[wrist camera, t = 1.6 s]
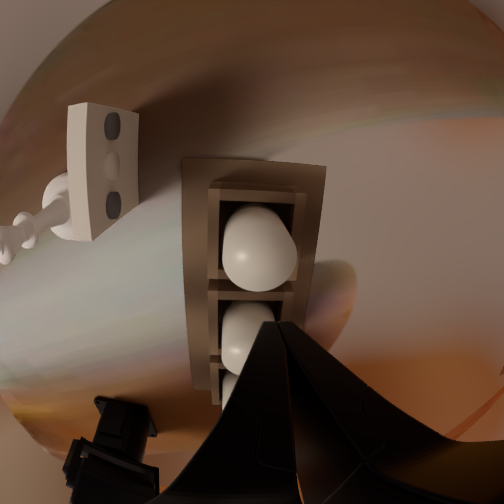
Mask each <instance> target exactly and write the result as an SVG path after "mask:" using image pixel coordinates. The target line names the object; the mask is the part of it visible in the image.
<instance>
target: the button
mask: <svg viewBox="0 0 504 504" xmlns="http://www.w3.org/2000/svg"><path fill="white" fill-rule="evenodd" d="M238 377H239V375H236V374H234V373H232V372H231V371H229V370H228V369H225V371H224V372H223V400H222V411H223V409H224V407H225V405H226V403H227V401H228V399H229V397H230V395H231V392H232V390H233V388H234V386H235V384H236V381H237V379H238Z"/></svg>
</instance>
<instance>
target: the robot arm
mask: <svg viewBox="0 0 504 504" xmlns="http://www.w3.org/2000/svg"><path fill="white" fill-rule="evenodd" d="M367 386H368V385H367V384H366V383H365V382H364V381H362V380H361V379H360V378H359V377H357V376H356V375H355V374H354V373H353V372H351V371H350V370H349V369H348V368H346V367H345V366H344V365H343V364H342V363H341V362H339V361H338V360H337V359H336V358H335V357H333V356H332V355H331V354H330V353H329V352H327V351H326V350H325V349H324V348H323V347H322V346H320V345H319V344H318V343H317V342H316V341H314V340H313V339H312V338H311V337H310V336H309V335H307V334H306V333H305V332H304V331H303V330H301V329H300V328H299V327H298V326H297V325H296V324H294V323H293V322H292V321H278V322H276V321H263V322H262V324H261V326H260V329H259V331H258V333H257V336H256V338H255V340H254V343H253V345H252V347H251V350H250V352H249V354H248V357H247V359H246V361H245V363H244V366H243V368H242V370H241V372H240V375H239V377H238V379H237V381H236V384H235V386H234V388H233V390H232V392H231V395H230V397H229V399H228V401H227V403H226V405H225V407H224V409H223V411H222V413H221V415H220V417H219V419H218V421H217V422H216V424H215V426H214V427H213V429H212V430H211V432H210V433H209V435H208V436H207V438H206V439H205V441H204V442H203V443H202V445H201V446H200V448H199V449H198V450H197V452H196V453H195V454H194V456H193V457H192V459H191V460H190V461H189V462H188V464H187V465H186V466H185V468H184V469H183V470H182V471H181V473H180V474H179V475H178V477H177V478H176V479H175V480H174V481H173V482H172V483H171V484H170V485H169V486H168V487H167V488H166V489H165V490H164V491H163V492H162V493H160V494H159V468H157V467H152V466H148V465H146V464H143V459H144V453H145V448H146V443H147V437H157V431H156V429H155V426H154V423H153V420H152V418H151V415H150V412H149V409H148V407H146V406H144V405H137V404H131V403H125V402H119V401H113V400H108V399H103V398H98V397H95V399H94V403H95V405H96V407H97V409H98V410H99V412H100V414H101V417H100V420H99V423H98V426H97V430H96V433H95V436H94V439H93V442H90V441H88V440H86V439H85V438H83V437H81V439H80V440H79V439H78V440H77V439H73V442H72V445H71V447H70V450H69V453H68V455H67V458H66V461H65V463H64V466H63V469H62V470H63V472H64V474H65V476H66V478H65V479H66V480H67V483H66V486H67V487H69V488H72V489H73V490H72V494H71V497H70V501H69V504H302V502H301V499H300V495H299V490H298V483H297V475H298V479H299V484H300V488H301V492H302V496H303V500H304V504H504V440H497V441H484V442H460V441H456V440H452V439H449V438H447V437H445V436H443V435H441V434H439V433H438V432H436V431H434V430H433V429H431V428H429V427H428V426H426V425H424V424H423V423H421V422H419V421H418V420H416V419H415V418H413V417H411V416H410V415H408V414H407V413H405V412H404V411H402V410H401V409H399V408H398V407H396V406H395V405H393V404H392V403H390V402H389V401H388V400H386V399H385V398H384V397H383V396H381V395H380V394H379V393H377V392H376V391H374V389H372V388H371V387H370V386H368V387H367ZM80 455H81V456H83V458H81V457H80ZM296 473H297V475H296Z"/></svg>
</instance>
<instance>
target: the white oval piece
mask: <svg viewBox="0 0 504 504" xmlns="http://www.w3.org/2000/svg"><path fill="white" fill-rule="evenodd" d="M296 261H297V250H296V246H295V244H294V241H293V240H292V238H291V236H290V234H289V233H288V231H287V229H286V228H285V226H284V224H283V222H282V221H281V219H280V217H279V216H278V214H277V213H276V212H275V211H274V210H273V209H272V208H270V207H269V206H267V205H264V204H261V203H248V204H244V205H242V206H240V207H238V208H236V209H235V210H234V211H233V212H232V213H231V214H230V216H229V217H228V219H227V221H226V224H225V230H224V242H223V255H222V262H223V267H224V270H225V272H226V274H227V276H228V277H229V279H230V280H231V281H232V282H233V283H235V284H236V285H237V286H239V287H241V288H243V289H246V290H249V291H256V292H261V291H268V290H271V289H274V288H276V287H278V286H280V285H281V284H283V283H284V282H285V281H286V280H287V279H288V278H289V277H290V275H291V274H292V272H293V270H294V268H295V266H296Z"/></svg>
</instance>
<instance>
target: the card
mask: <svg viewBox="0 0 504 504" xmlns="http://www.w3.org/2000/svg"><path fill="white" fill-rule="evenodd" d="M138 128H139V113H135V112H130V111H126V110H122V109H117V108H113V107H108V106H104V105H99V104H94V103H89V102H86V103H81V104H76V105H71V106H68V122H67V171H68V189H69V202H70V212H71V221H72V229H73V236H74V241H93V240H94V239H95V238H96V237H98V236H99V235H100V234H101V233H103V232H104V231H105V230H106V229H108V228H109V227H110V226H111V225H113V224H114V223H115V222H116V221H118V220H119V219H120V218H121V217H123V216H124V215H125V214H127V213H128V212H129V211H131V210H132V209H133V208H135V207H136V206H137V205H139V200H138Z"/></svg>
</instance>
